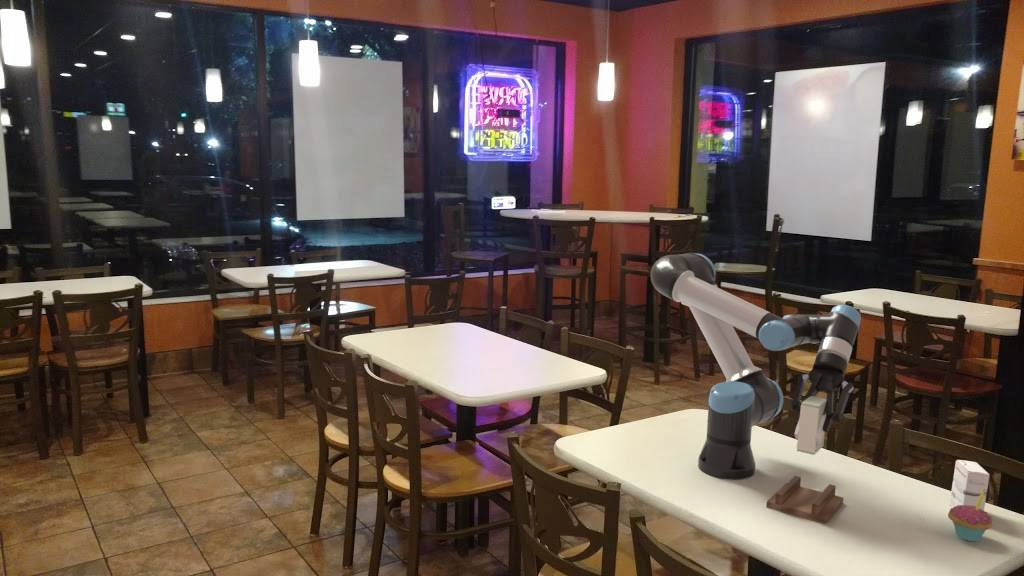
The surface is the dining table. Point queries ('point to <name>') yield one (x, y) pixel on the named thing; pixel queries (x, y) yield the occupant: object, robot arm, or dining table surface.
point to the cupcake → (970, 520)
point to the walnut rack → (806, 501)
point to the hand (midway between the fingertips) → (807, 438)
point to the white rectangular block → (968, 484)
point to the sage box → (810, 424)
